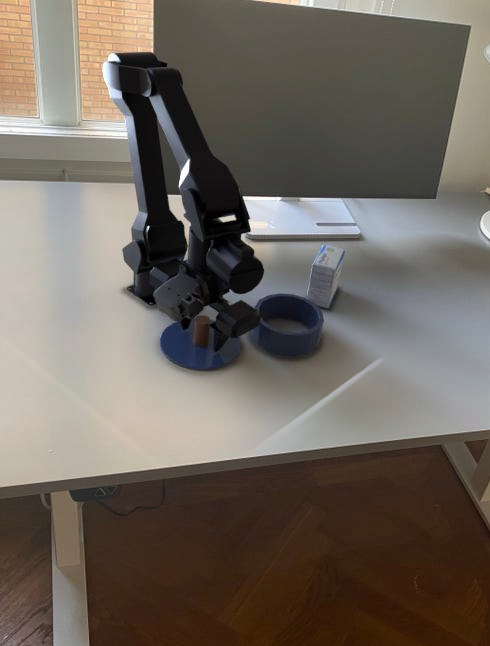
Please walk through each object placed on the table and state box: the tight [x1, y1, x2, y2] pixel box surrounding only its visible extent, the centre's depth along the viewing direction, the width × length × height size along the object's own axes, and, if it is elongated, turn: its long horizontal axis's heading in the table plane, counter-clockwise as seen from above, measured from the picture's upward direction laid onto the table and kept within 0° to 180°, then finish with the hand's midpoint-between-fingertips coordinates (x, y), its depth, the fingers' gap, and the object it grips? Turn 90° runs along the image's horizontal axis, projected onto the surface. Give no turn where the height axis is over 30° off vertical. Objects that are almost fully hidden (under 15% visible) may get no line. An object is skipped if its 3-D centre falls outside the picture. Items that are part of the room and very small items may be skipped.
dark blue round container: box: [251, 292, 325, 357], centre depth 121 cm, size 12×12×5 cm
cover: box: [159, 314, 242, 371], centre depth 114 cm, size 13×13×6 cm
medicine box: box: [306, 244, 346, 309], centre depth 132 cm, size 8×4×9 cm, turn 168°
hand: (200, 339), depth 115 cm, fingers open, 7 cm apart
